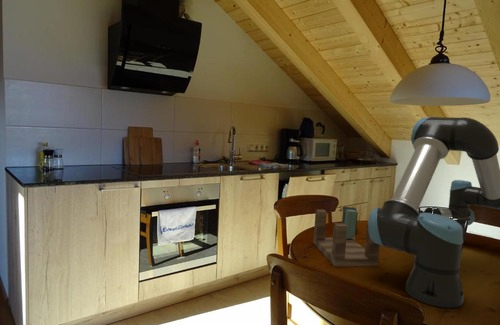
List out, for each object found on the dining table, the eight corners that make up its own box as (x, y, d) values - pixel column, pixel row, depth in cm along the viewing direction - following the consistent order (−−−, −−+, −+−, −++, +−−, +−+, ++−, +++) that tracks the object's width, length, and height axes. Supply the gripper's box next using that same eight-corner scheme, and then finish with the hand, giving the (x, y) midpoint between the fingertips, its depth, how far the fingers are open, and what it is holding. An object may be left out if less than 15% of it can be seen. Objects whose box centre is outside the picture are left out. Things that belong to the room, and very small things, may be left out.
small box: (356, 234, 161) (358, 212, 160) (342, 233, 162) (343, 211, 161) (354, 228, 171) (356, 207, 170) (341, 227, 173) (342, 206, 172)
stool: (377, 265, 124) (381, 226, 123) (334, 266, 122) (337, 225, 121) (350, 243, 148) (352, 209, 147) (313, 243, 146) (315, 209, 145)
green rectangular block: (355, 239, 144) (358, 211, 143) (346, 239, 144) (349, 211, 143) (351, 236, 148) (354, 209, 147) (342, 236, 147) (345, 209, 146)
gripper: (446, 229, 144) (392, 228, 141) (426, 220, 157) (376, 220, 154) (448, 211, 143) (394, 210, 140) (428, 204, 156) (378, 203, 153)
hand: (385, 215), depth 147 cm, fingers closed
